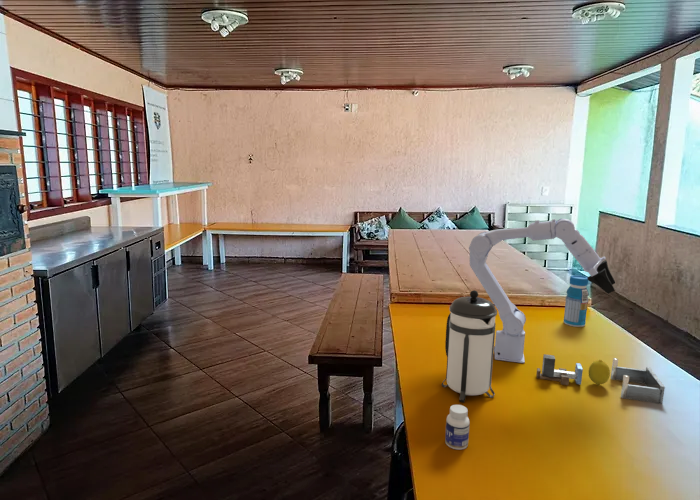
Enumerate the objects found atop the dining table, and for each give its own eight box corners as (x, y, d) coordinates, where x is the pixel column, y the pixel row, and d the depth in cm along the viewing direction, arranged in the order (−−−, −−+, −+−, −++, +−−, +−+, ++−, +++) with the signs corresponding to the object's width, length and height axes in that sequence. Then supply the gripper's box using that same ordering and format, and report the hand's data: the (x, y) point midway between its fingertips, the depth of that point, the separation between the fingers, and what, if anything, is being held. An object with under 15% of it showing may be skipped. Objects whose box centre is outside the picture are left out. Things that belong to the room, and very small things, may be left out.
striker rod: (542, 379, 144) (544, 358, 142) (541, 373, 148) (543, 353, 147) (581, 384, 141) (583, 363, 139) (578, 378, 145) (580, 357, 144)
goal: (621, 398, 134) (624, 376, 132) (610, 377, 147) (612, 357, 145) (662, 404, 131) (666, 382, 130) (647, 382, 144) (650, 362, 143)
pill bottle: (442, 437, 113) (444, 403, 111) (463, 436, 113) (466, 402, 112) (448, 450, 108) (451, 415, 106) (471, 450, 108) (473, 414, 107)
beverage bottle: (564, 326, 193) (569, 278, 189) (561, 319, 201) (566, 273, 197) (587, 328, 190) (592, 280, 187) (583, 321, 198) (588, 275, 195)
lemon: (610, 390, 138) (614, 364, 137) (590, 388, 139) (593, 362, 138) (604, 382, 144) (607, 357, 142) (585, 380, 145) (587, 355, 143)
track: (537, 381, 143) (538, 373, 143) (535, 372, 149) (536, 365, 149) (570, 385, 141) (570, 377, 140) (566, 376, 147) (567, 369, 146)
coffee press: (500, 386, 139) (509, 287, 134) (486, 410, 126) (495, 301, 120) (444, 372, 148) (449, 279, 143) (425, 393, 134) (430, 291, 129)
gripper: (593, 250, 138) (624, 288, 136) (596, 240, 150) (624, 274, 148) (571, 263, 141) (601, 300, 140) (576, 252, 154) (603, 286, 152)
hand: (611, 288), depth 144 cm, fingers open, 7 cm apart
